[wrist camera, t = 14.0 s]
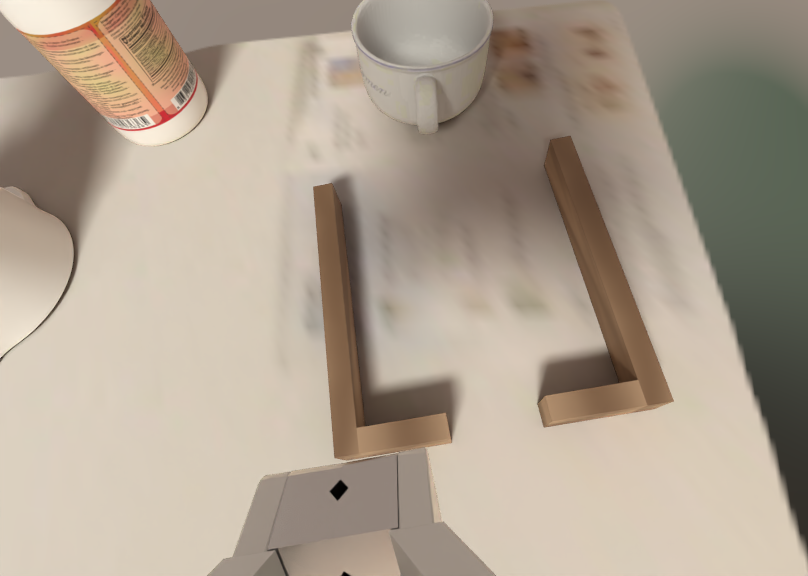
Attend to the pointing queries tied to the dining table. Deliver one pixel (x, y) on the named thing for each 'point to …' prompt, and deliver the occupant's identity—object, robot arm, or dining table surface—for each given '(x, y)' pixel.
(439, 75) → the teacup
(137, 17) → the fruit juice
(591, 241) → the wooden l-brackets
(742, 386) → the dining table surface
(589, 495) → the dining table surface
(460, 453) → the dining table surface
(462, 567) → the robot arm
